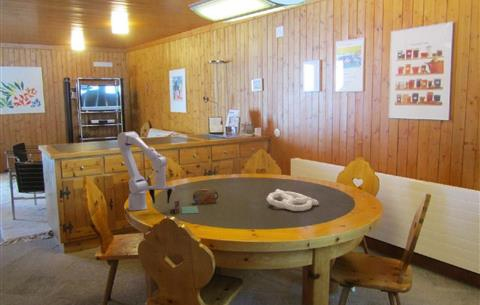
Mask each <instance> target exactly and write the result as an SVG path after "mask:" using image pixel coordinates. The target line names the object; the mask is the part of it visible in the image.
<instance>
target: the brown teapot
mask: <svg viewBox="0 0 480 305" xmlns="http://www.w3.org/2000/svg"><path fill="white" fill-rule="evenodd" d="M192 199H193V201H194V202H195V204H198V205H200V204H203V205H204V204H213V203H215V202H217V200H218V199H219V194H218V191H217V190H216V189H213V188H205V189H204V188H203V189H202V188H201V189H200V188H199V189H196V190H195V191H193V194H192Z"/></svg>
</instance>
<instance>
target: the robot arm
mask: <svg viewBox="0 0 480 305" xmlns="http://www.w3.org/2000/svg"><path fill="white" fill-rule="evenodd" d="M116 139H117V142H118V146H119V151H120V154H121V157H122V159H123V162H124V164H125V167H126V170H127V172H128V175H129V181H128V182H127V183H128V190H129V191H130V193H128V211H141V210H142V211H146V210H147V207H148V205H147V203H146V202H147V200H146V199H147V198H146V196H147V195H146V193H147V192H148V193H149V195H150V196H151V199H152V203H153V204H156V196H155V195H156V194H155V193H156V192H155V191H166V194H167V198H166V199H167V201H166V202H167V204H169V203H170V200H171V199H170V198H171V194H172V192H173V191H174V190H175V186H174V185H167V179H166V178H167V177H166V176H167V175H166V166H167V164H168V159H167V157H166V156H164V155H161V154H160V153H159V152H157V151H156V150H155V149H156V148H154V147H149V145H147V144H146V143H145V142H144V141H143V140H142V139H141V138H140V136H139V133H137V132H136V131H134V130H133V131H126V132H120V133H119V134H118V135H117V138H116ZM133 145H135V146H136V147H137V148H139V150H141V151H142V152H144V153H143V154H144V157H146V158H147V159H148V160H149V161H151V163H152V164H151V165H152V167H153V170H154V182H155V183H154V185H149V183H148V181H146V179H145V177H144V176H143V175H141V174H140V171H139V169H138V166H137V164H136V161H135V158H134V156H133V153H132V149H131V148H133Z"/></svg>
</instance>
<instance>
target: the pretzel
mask: <svg viewBox="0 0 480 305" xmlns="http://www.w3.org/2000/svg"><path fill="white" fill-rule="evenodd" d="M276 198H281V199H282V200H277V199H276ZM266 201H267V202H268V203H269V204H270V205H271V206H274V207H277V208H281V209H282V210H283V209H285V210H286V209H287V210H290V211H293V212H305V211H308V210H311V208H312V207H313V206H315V205H316V206H318V205H319V204H320V203H319V202H320V201H318V199H315V198H311V196H308V195H304V193H302V194H301V193H299V192H294V191H290V190H287V191H286V190H283V189H282V190H281V189H280V188H277V189H276V190H275V191H274V192H270V193H269V194H268V195H267V197H266Z"/></svg>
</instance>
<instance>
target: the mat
mask: <svg viewBox="0 0 480 305" xmlns="http://www.w3.org/2000/svg"><path fill="white" fill-rule="evenodd" d="M180 208H181V215H189V214H199V209H198V208H199V207H198V206H197V205H194V206H193V205H192V206H181V207H180Z"/></svg>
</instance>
